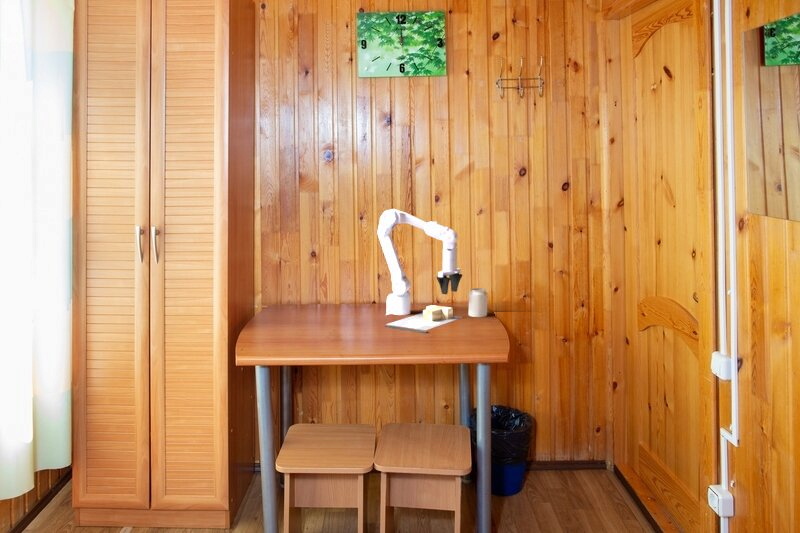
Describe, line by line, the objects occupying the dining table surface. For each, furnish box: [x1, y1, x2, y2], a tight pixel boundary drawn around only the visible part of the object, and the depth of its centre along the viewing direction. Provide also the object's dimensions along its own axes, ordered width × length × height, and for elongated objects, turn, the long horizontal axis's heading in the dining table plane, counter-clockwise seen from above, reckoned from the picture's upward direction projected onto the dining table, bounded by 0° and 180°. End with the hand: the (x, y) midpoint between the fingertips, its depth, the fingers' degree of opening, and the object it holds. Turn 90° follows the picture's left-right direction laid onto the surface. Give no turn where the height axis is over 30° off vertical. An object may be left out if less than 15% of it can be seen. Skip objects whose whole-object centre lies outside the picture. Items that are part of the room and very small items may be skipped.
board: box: [385, 312, 463, 334], centre depth 259 cm, size 18×28×1 cm, turn 146°
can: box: [468, 287, 488, 318], centre depth 269 cm, size 8×8×12 cm
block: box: [422, 304, 454, 322], centre depth 263 cm, size 10×11×4 cm
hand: (449, 292), depth 269 cm, fingers open, 7 cm apart
